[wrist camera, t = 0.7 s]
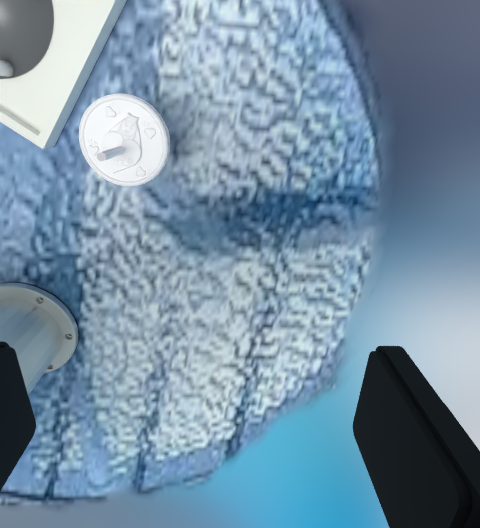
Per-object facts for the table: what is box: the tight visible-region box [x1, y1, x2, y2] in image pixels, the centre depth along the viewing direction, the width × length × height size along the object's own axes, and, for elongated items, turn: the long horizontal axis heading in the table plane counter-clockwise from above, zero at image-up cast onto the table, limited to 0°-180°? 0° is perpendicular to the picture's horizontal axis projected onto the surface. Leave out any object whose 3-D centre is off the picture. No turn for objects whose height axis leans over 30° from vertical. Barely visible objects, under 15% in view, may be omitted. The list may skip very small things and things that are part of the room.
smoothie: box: [79, 93, 170, 186], centre depth 27 cm, size 6×6×14 cm
